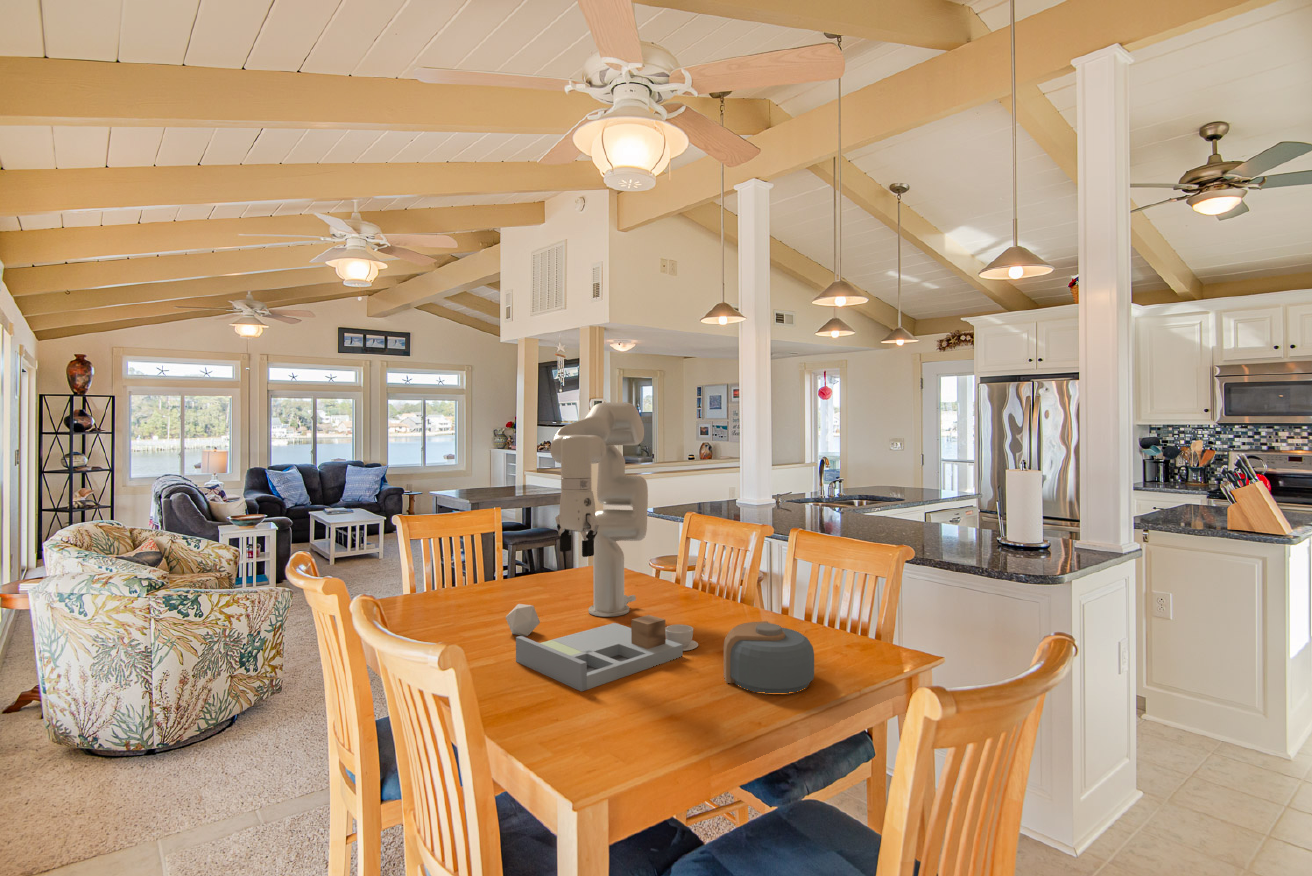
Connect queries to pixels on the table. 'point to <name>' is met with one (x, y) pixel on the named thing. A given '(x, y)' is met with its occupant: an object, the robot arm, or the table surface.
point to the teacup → (681, 635)
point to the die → (522, 619)
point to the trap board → (593, 656)
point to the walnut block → (648, 631)
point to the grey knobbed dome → (768, 658)
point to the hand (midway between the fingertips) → (576, 553)
